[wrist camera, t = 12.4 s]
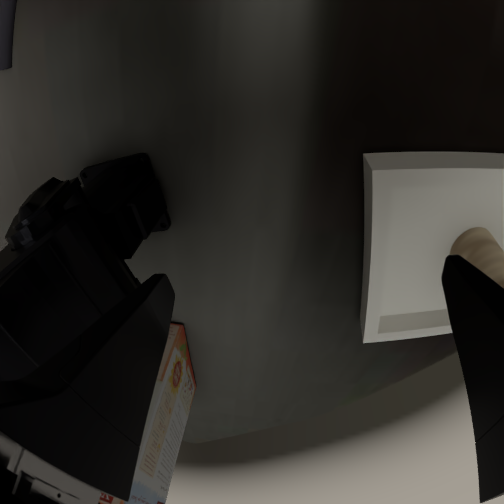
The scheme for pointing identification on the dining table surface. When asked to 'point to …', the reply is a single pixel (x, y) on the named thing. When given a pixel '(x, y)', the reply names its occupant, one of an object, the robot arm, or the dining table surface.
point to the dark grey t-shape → (6, 32)
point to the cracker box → (163, 424)
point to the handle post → (481, 252)
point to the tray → (420, 234)
